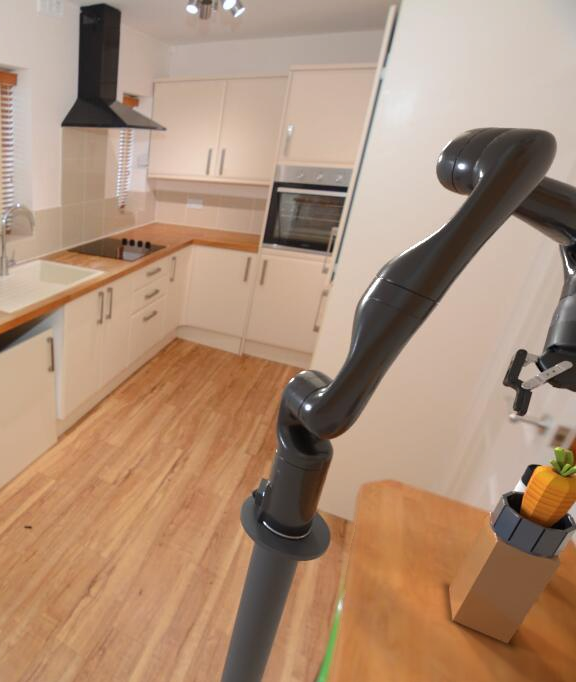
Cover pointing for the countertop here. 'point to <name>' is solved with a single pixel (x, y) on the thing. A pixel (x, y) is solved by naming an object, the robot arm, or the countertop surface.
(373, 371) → the robot arm
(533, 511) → the carrot
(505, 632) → the pad socket
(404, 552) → the countertop surface
